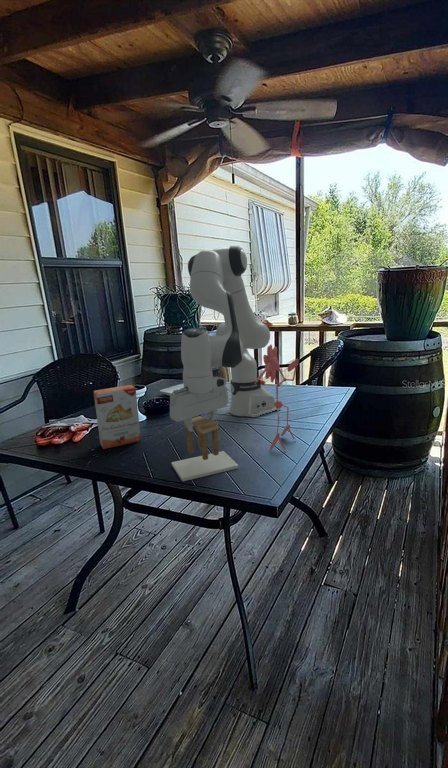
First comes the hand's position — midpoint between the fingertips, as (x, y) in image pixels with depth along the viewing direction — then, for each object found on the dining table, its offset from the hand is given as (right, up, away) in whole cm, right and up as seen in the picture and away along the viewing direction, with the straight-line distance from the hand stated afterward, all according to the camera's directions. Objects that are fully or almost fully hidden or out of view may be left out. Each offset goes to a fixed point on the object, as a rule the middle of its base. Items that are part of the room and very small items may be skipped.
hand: (201, 427), depth 123 cm
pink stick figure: (+24, -8, +18) cm, 31 cm away
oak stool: (0, -8, +2) cm, 9 cm away
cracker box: (-31, -9, +26) cm, 41 cm away
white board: (+1, -13, +3) cm, 13 cm away
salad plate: (-12, +7, +84) cm, 85 cm away
